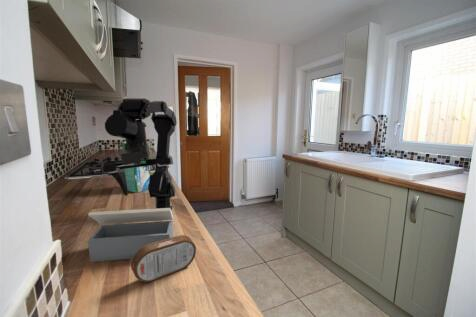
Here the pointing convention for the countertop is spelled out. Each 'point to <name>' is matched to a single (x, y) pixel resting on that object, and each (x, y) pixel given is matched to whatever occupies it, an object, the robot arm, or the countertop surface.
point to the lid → (132, 215)
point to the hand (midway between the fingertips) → (142, 193)
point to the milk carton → (137, 176)
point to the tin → (163, 258)
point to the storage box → (126, 239)
